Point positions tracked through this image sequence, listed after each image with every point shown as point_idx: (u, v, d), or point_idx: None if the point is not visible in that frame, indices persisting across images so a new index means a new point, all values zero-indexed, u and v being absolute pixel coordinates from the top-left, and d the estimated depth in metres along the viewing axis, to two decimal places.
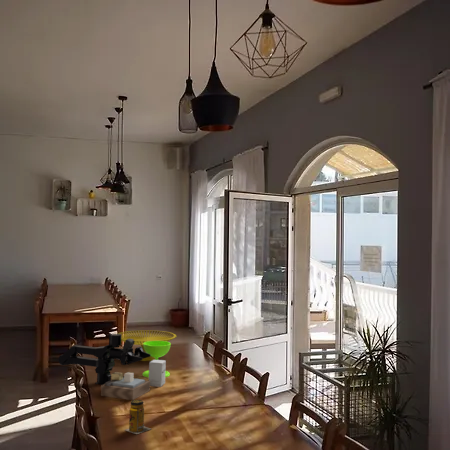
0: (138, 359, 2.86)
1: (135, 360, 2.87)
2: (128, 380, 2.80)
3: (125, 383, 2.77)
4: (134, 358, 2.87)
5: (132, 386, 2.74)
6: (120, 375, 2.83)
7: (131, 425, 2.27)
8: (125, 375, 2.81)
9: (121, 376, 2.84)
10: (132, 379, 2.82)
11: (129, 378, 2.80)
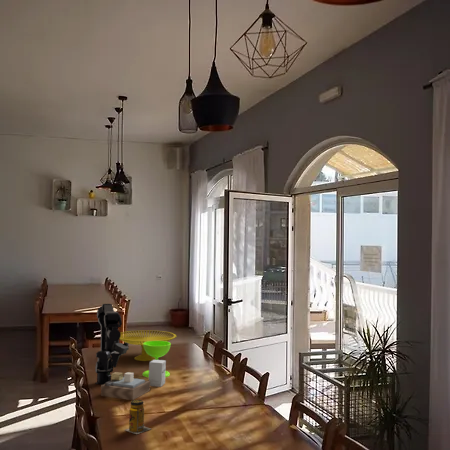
0: (105, 367, 2.73)
1: (103, 364, 2.73)
2: (128, 380, 2.80)
3: (125, 383, 2.77)
4: (105, 363, 2.73)
5: (132, 386, 2.74)
6: (120, 375, 2.83)
7: (131, 425, 2.27)
8: (125, 375, 2.81)
9: (121, 376, 2.84)
10: (132, 379, 2.82)
11: (129, 378, 2.80)
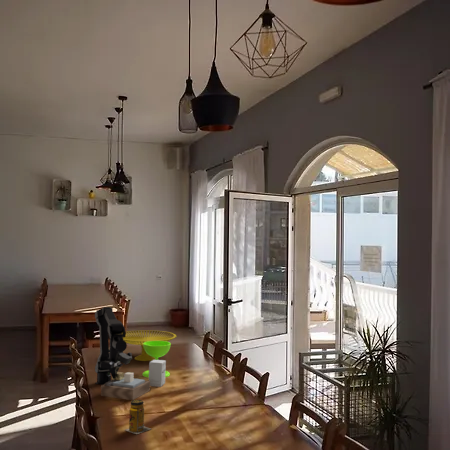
0: (112, 375, 2.81)
1: (111, 372, 2.81)
2: (128, 380, 2.80)
3: (125, 383, 2.77)
4: (113, 371, 2.80)
5: (132, 386, 2.74)
6: (121, 375, 2.83)
7: (131, 425, 2.27)
8: (125, 375, 2.81)
9: (122, 376, 2.84)
10: (132, 379, 2.82)
11: (129, 378, 2.80)
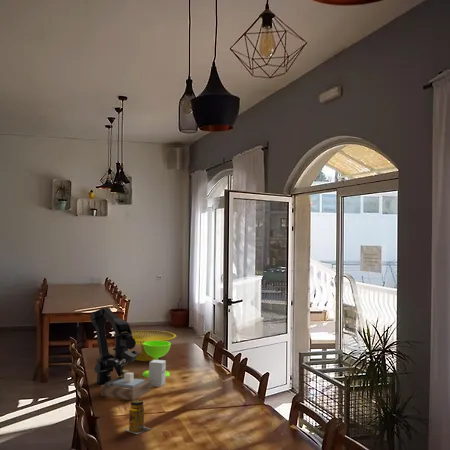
0: (118, 373, 2.86)
1: (116, 370, 2.85)
2: (128, 380, 2.80)
3: (125, 383, 2.77)
4: (118, 369, 2.85)
5: (132, 386, 2.74)
6: (126, 372, 2.88)
7: (131, 425, 2.27)
8: (125, 375, 2.81)
9: None
10: (132, 379, 2.82)
11: (129, 378, 2.80)
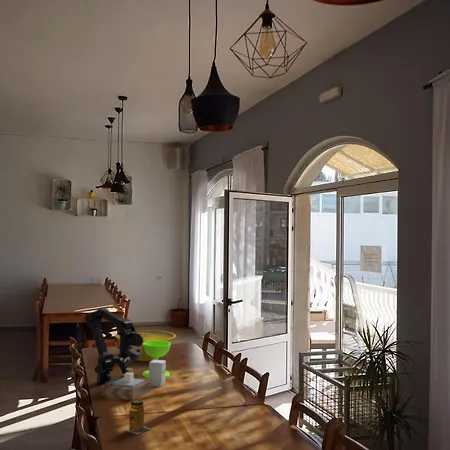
0: (122, 371, 2.90)
1: (121, 368, 2.90)
2: (128, 380, 2.80)
3: (125, 383, 2.77)
4: (123, 367, 2.89)
5: (132, 386, 2.74)
6: (130, 371, 2.92)
7: (131, 425, 2.27)
8: (125, 375, 2.81)
9: (131, 372, 2.93)
10: (132, 379, 2.82)
11: (129, 378, 2.80)
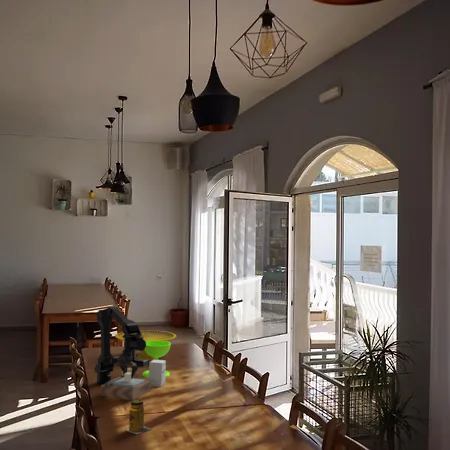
0: None
1: None
2: (128, 380, 2.80)
3: (125, 383, 2.77)
4: None
5: (132, 386, 2.74)
6: (130, 371, 2.92)
7: (131, 425, 2.27)
8: (125, 375, 2.81)
9: (131, 371, 2.93)
10: (132, 379, 2.82)
11: (129, 378, 2.80)
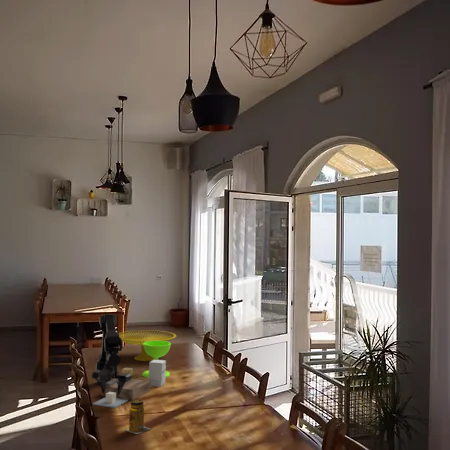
0: None
1: None
2: (110, 400, 2.64)
3: (106, 404, 2.61)
4: None
5: (114, 407, 2.58)
6: (130, 371, 2.92)
7: (131, 425, 2.27)
8: (106, 395, 2.65)
9: (131, 371, 2.93)
10: (114, 399, 2.66)
11: (111, 398, 2.64)
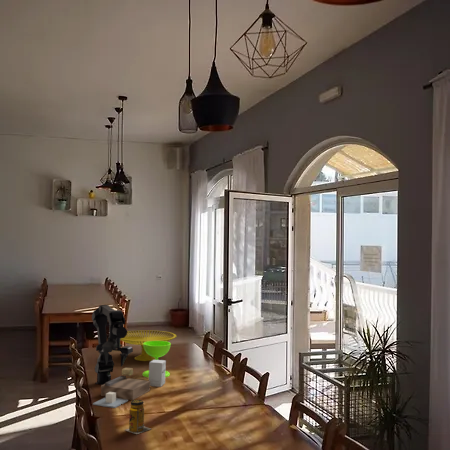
0: None
1: None
2: (110, 400, 2.64)
3: (106, 404, 2.61)
4: None
5: (113, 407, 2.58)
6: (130, 371, 2.92)
7: (131, 425, 2.27)
8: (106, 395, 2.65)
9: (131, 371, 2.93)
10: (114, 399, 2.66)
11: (111, 398, 2.64)
